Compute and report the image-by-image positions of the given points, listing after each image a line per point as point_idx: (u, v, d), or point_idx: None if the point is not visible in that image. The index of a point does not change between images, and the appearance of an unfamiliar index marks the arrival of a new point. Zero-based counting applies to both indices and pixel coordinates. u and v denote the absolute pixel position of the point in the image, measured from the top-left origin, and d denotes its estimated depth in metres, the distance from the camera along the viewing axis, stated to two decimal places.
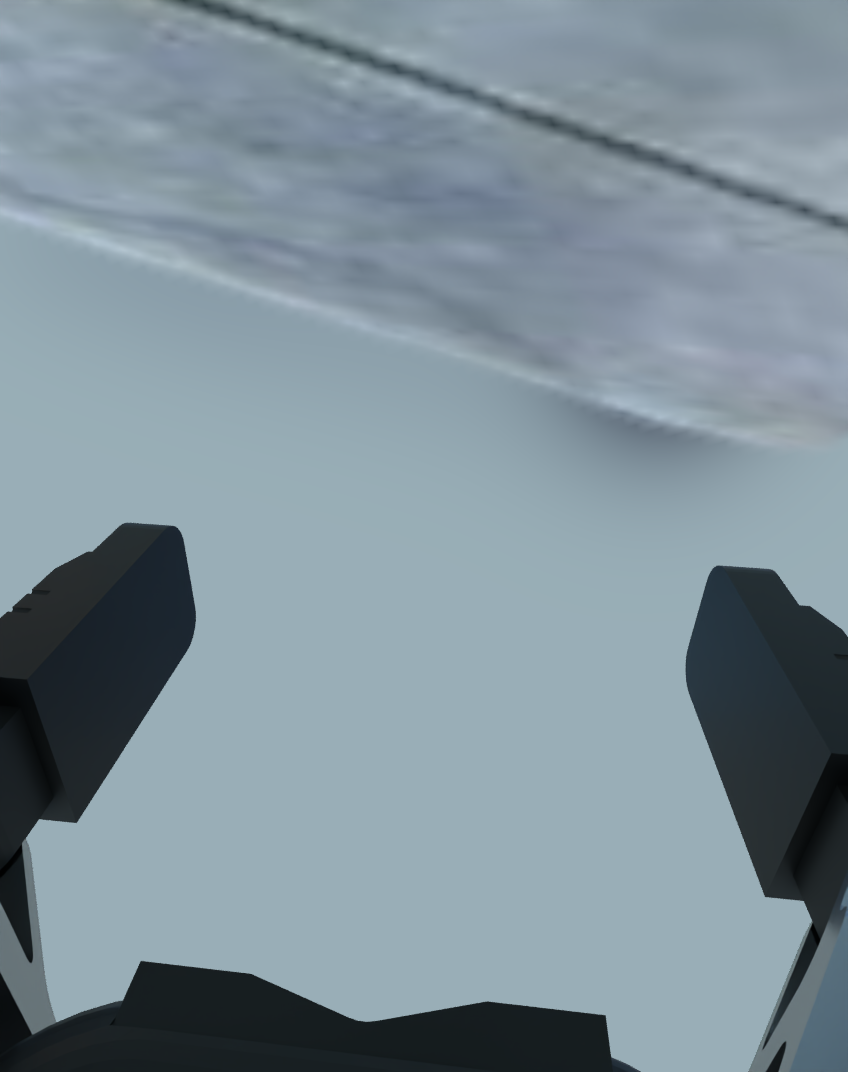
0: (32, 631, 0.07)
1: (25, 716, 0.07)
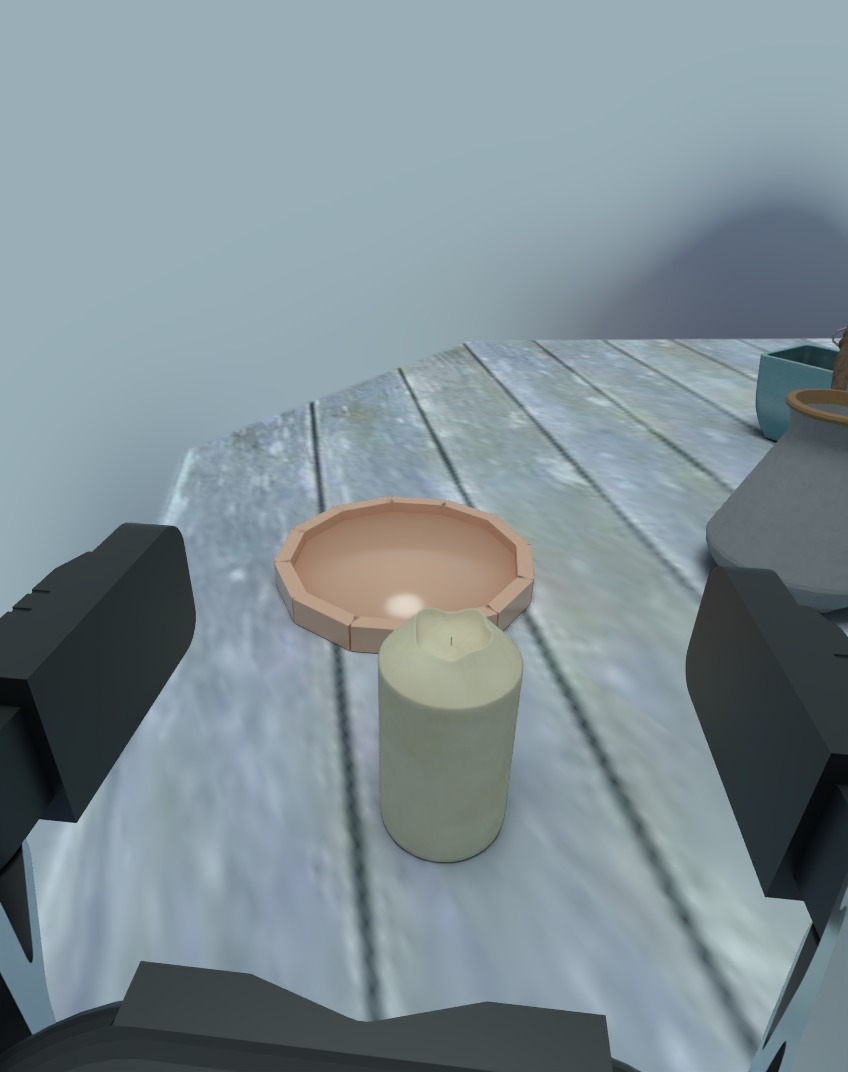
0: (32, 631, 0.07)
1: (25, 716, 0.07)
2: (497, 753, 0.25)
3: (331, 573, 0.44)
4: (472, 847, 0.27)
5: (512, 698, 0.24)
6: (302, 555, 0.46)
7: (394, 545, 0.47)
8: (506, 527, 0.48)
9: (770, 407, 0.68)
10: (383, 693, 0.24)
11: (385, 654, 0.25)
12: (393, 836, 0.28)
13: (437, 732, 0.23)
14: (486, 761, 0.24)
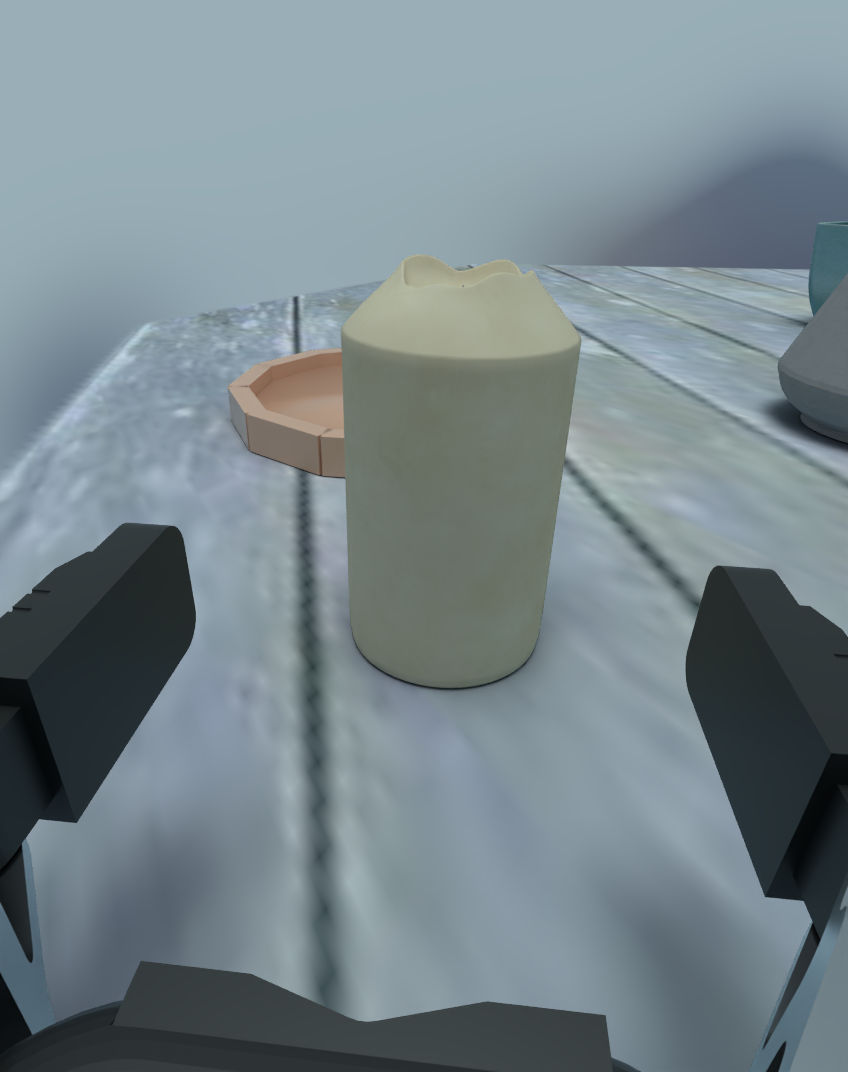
0: (32, 631, 0.07)
1: (25, 716, 0.07)
2: (537, 480, 0.15)
3: (302, 404, 0.34)
4: (492, 662, 0.17)
5: (565, 372, 0.14)
6: (266, 390, 0.36)
7: None
8: None
9: (827, 287, 0.58)
10: (348, 373, 0.15)
11: (353, 315, 0.15)
12: (368, 653, 0.18)
13: (437, 413, 0.13)
14: (520, 488, 0.15)
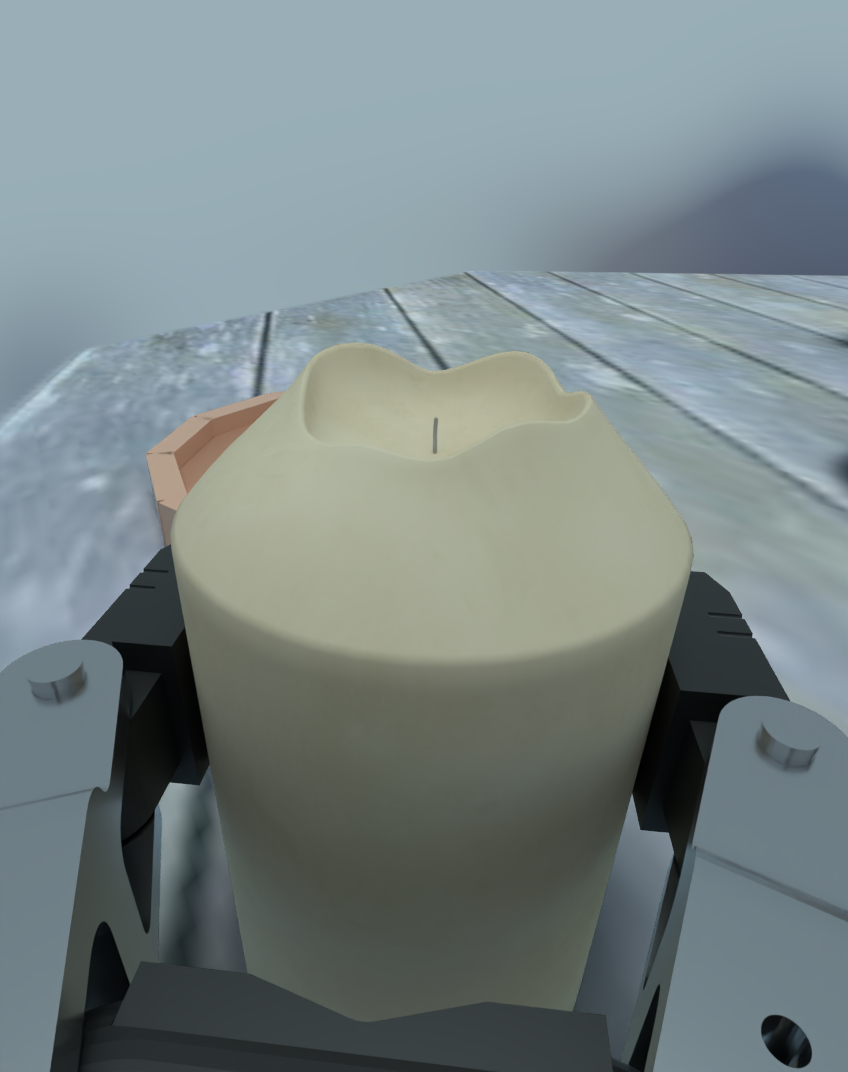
0: (164, 604, 0.08)
1: (165, 681, 0.07)
2: (597, 839, 0.07)
3: None
4: None
5: (667, 634, 0.06)
6: (203, 452, 0.28)
7: None
8: None
9: None
10: (184, 616, 0.07)
11: (198, 482, 0.07)
12: None
13: (368, 765, 0.05)
14: (561, 868, 0.07)
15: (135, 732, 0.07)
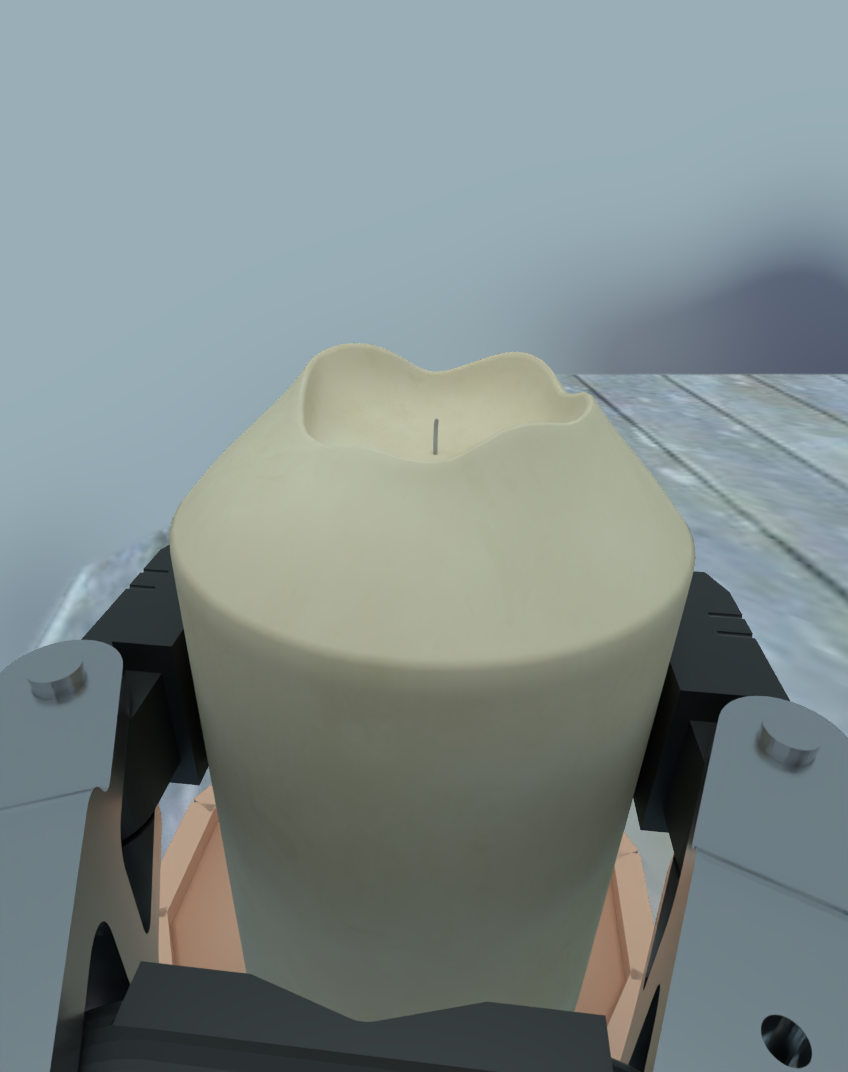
0: (164, 604, 0.08)
1: (165, 681, 0.07)
2: (597, 843, 0.07)
3: None
4: None
5: (670, 638, 0.06)
6: (203, 870, 0.24)
7: None
8: None
9: None
10: (182, 619, 0.07)
11: (198, 484, 0.07)
12: None
13: (368, 769, 0.05)
14: (562, 872, 0.07)
15: (135, 732, 0.07)
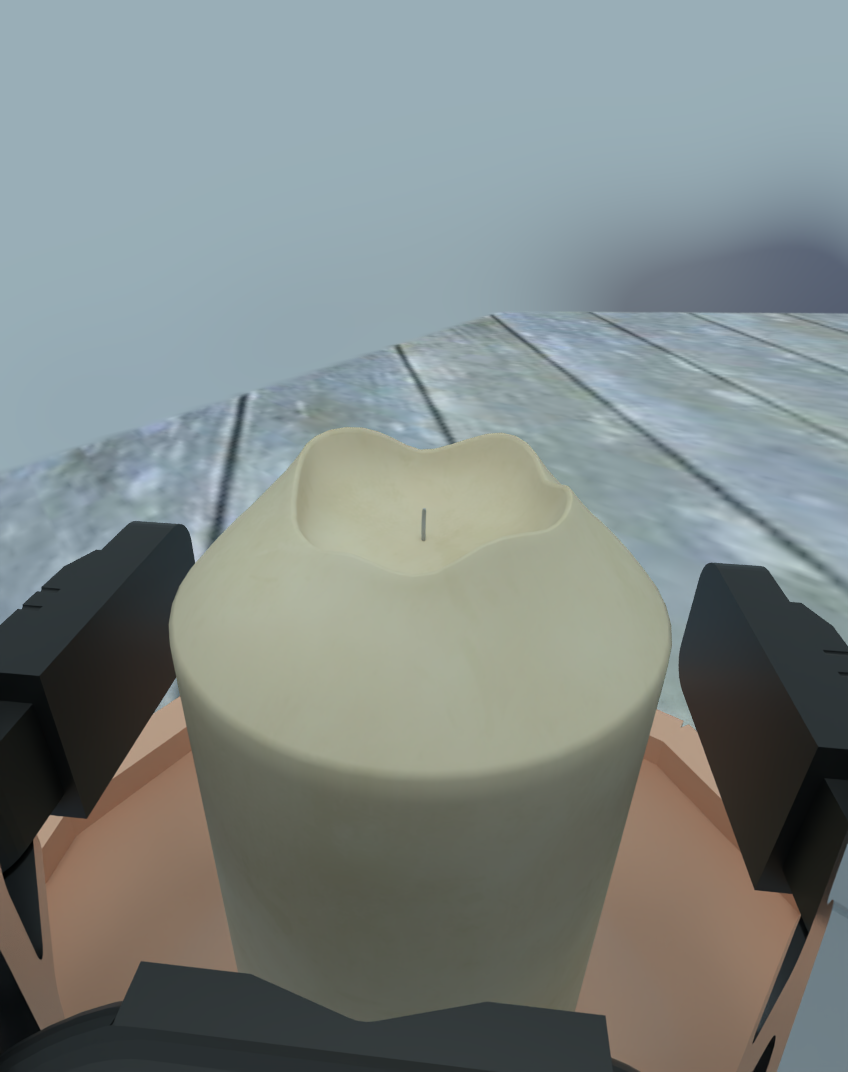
0: (43, 628, 0.07)
1: (37, 712, 0.07)
2: (579, 913, 0.07)
3: None
4: None
5: (645, 726, 0.06)
6: None
7: None
8: None
9: None
10: (182, 704, 0.07)
11: (196, 571, 0.07)
12: None
13: (357, 863, 0.06)
14: (545, 942, 0.07)
15: None
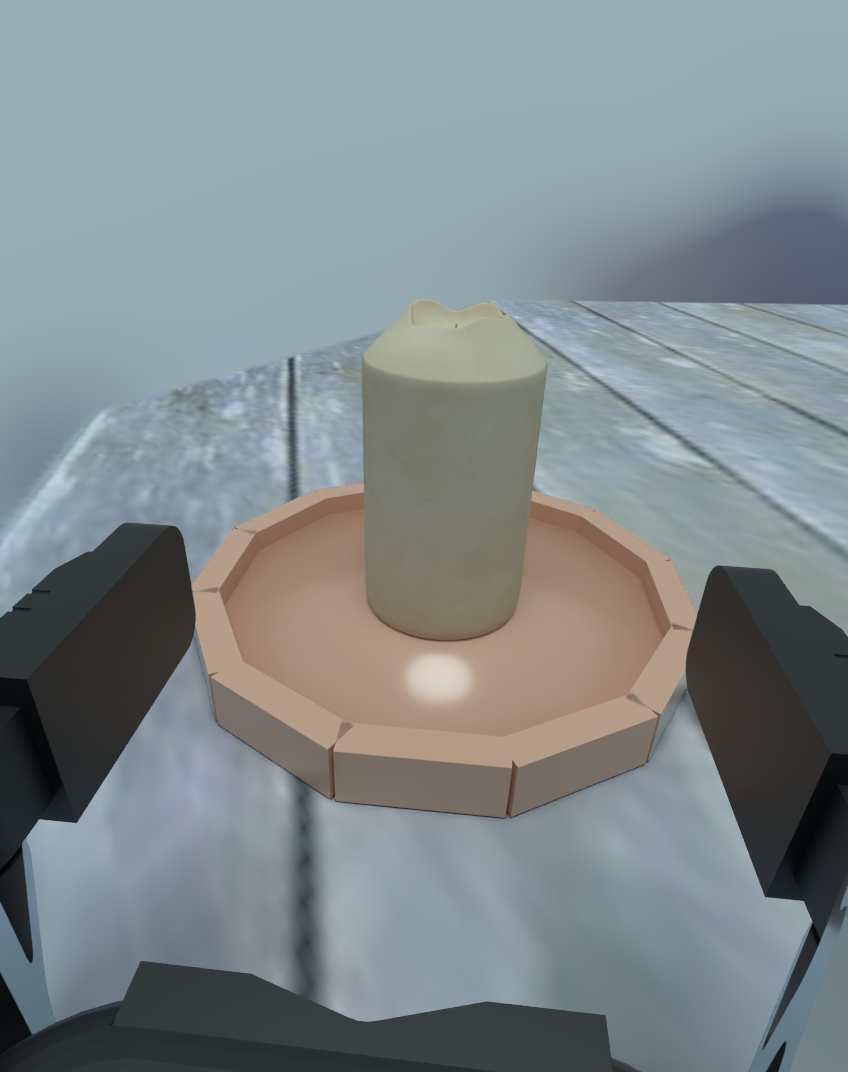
0: (32, 631, 0.07)
1: (25, 716, 0.07)
2: (513, 475, 0.19)
3: (300, 614, 0.23)
4: (479, 619, 0.21)
5: (534, 392, 0.18)
6: (248, 577, 0.24)
7: None
8: (617, 529, 0.27)
9: None
10: (368, 392, 0.19)
11: (371, 347, 0.19)
12: (380, 614, 0.22)
13: (436, 423, 0.18)
14: (500, 480, 0.19)
15: None
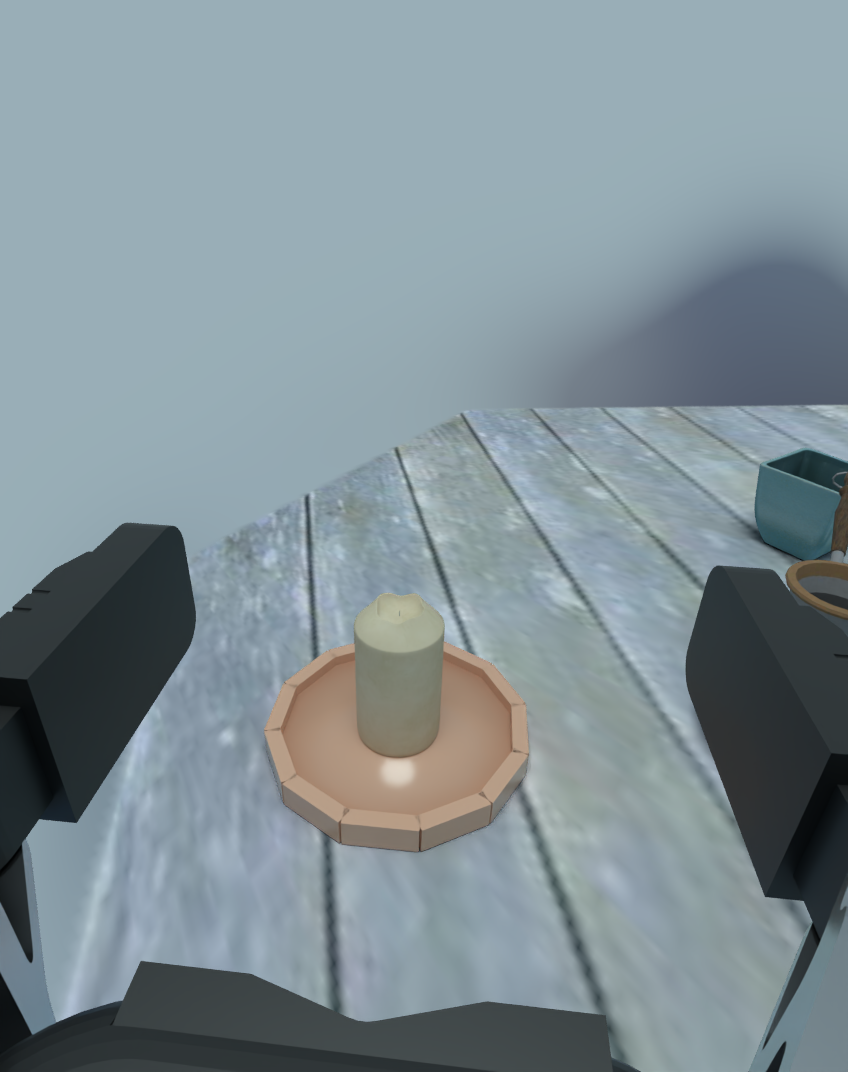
0: (32, 631, 0.07)
1: (25, 716, 0.07)
2: (427, 683, 0.40)
3: (322, 741, 0.43)
4: (414, 747, 0.42)
5: (435, 648, 0.39)
6: (293, 715, 0.45)
7: None
8: (501, 679, 0.47)
9: (769, 516, 0.67)
10: (356, 645, 0.39)
11: (358, 621, 0.40)
12: (364, 742, 0.43)
13: (388, 667, 0.38)
14: (420, 687, 0.39)
15: None
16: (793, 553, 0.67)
